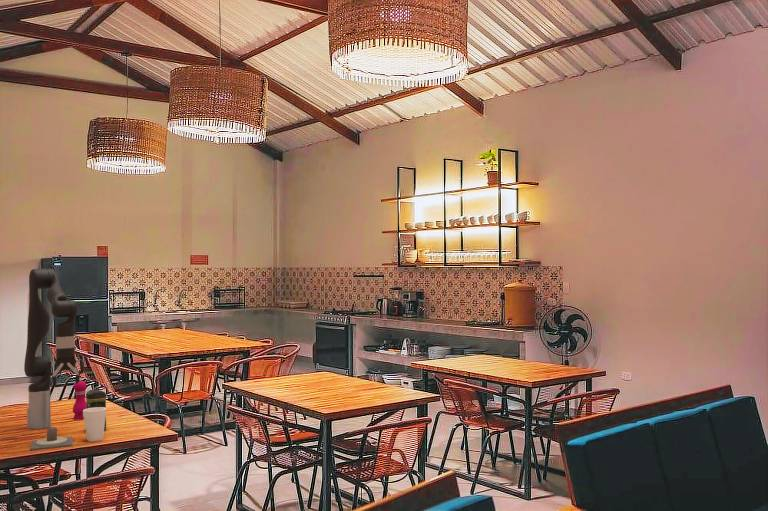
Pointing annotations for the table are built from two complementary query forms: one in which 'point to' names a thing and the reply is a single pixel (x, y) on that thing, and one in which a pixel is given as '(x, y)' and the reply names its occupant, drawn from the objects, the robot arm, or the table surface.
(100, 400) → the coffee jar
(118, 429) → the table surface
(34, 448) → the mat
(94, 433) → the foam cup
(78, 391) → the pepper mill
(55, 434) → the lid
